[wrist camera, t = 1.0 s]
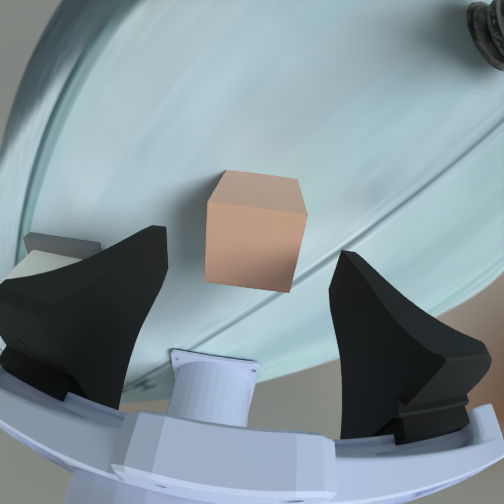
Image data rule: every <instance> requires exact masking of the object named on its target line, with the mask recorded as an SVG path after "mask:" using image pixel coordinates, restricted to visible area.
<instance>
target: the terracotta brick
mask: <svg viewBox="0 0 504 504" xmlns="http://www.w3.org/2000/svg"><path fill="white" fill-rule="evenodd" d="M307 216H308V215H307V211H306V207H305V204H304V200H303V197H302V193H301V189H300V186H299V182H298V179H292V178H286V177H279V176H272V175H265V174H257V173H249V172H241V171H232V170H226V171H225V173H224V174H223V176H222V178H221V180H220V181H219V183H218V185H217V186H216V188H215V190H214V191H213V193H212V195H211V197H210V198H209V200H208V202H207V224H206V251H205V282H210V283H217V284H224V285H232V286H239V287H246V288H254V289H262V290H270V291H278V292H286V293H290V289H291V285H292V280H293V276H294V272H295V268H296V264H297V260H298V256H299V251H300V247H301V243H302V238H303V234H304V229H305V225H306V220H307Z"/></svg>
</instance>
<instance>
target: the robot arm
mask: <svg viewBox="0 0 504 504" xmlns="http://www.w3.org/2000/svg"><path fill="white" fill-rule="evenodd" d="M167 270H168V255H167V235H166V227H164V226H155V225H152V226H149V227H147V228H145V229H143V230H141V231H139V232H137V233H135V234H134V235H132V236H130V237H128V238H126V239H124V240H123V241H121V242H119V243H117V244H115V245H113V246H111V247H109V248H107V249H105V250H103V251H101V252H99V253H97V254H95V255H93V256H91V257H88V258H86V259H83V260H81V261H79V262H76V263H73V264H70V265H67V266H64V267H61V268H58V269H55V270H52V271H48V272H44V273H40V274H35V275H31V276H25V277H18V278H12V279H5V280H4V281H3V282H2V283H1V284H0V336H1V337H2V339H3V341H4V342H5V344H6V345H7V346H6V348H5V349H4V351H2V350H1V349H0V428H1V429H3V430H4V431H6V432H7V433H8V434H10V435H11V436H12V437H14V438H15V439H17V440H18V441H20V442H21V443H22V444H24V445H25V446H27V447H28V448H30V449H32V450H33V451H35V452H36V453H38V454H40V455H41V456H43V457H45V458H46V459H48V460H50V461H52V462H53V463H55V464H57V465H58V466H60V467H62V468H64V469H66V470H68V471H70V472H72V473H73V474H72V477H71V480H70V483H69V487H68V490H67V493H66V497H65V500H64V504H401V503H404V502H408V501H411V500H414V499H417V498H420V497H423V496H426V495H428V494H431V493H434V492H437V491H439V490H442V489H445V488H447V487H450V486H452V485H454V484H457V483H459V482H461V481H463V480H465V479H467V478H469V477H471V476H473V475H475V474H477V473H478V472H480V471H482V470H484V469H486V468H487V467H489V466H491V465H492V464H494V463H496V462H497V461H499V460H500V459H502V458H503V457H504V441H503V437H502V434H501V431H500V428H499V424H498V422H497V418H496V416H495V413H494V410H493V407H492V405H491V404H486V405H483V406H480V407H476V408H474V409H471V410H470V411H468V412H466V409H465V405H467V404H468V402H469V400H468V397H467V393H468V392H469V391H470V390H471V389H472V388H473V387H474V386H475V385H476V384H477V383H478V382H479V381H480V380H481V379H482V378H483V377H484V375H485V374H486V373H487V371H488V370H489V368H490V365H491V361H492V359H491V356H490V354H489V352H488V350H487V348H486V346H485V345H484V343H483V342H481V341H479V340H477V339H474V338H472V337H470V336H467V335H465V334H463V333H461V332H459V331H457V330H455V329H453V328H451V327H449V326H447V325H445V324H444V323H442V322H440V321H438V320H437V319H435V318H434V317H432V316H431V315H429V314H428V313H426V312H425V311H423V310H422V309H420V308H419V307H418V306H416V305H415V304H414V303H412V302H411V301H410V300H408V299H407V298H406V297H405V296H403V295H402V294H401V293H400V292H399V291H398V290H396V289H395V288H394V287H393V286H392V285H391V284H390V283H389V282H387V281H386V280H385V279H384V278H383V277H382V276H381V275H380V274H379V273H378V272H377V271H376V270H375V269H374V268H373V267H372V266H371V265H370V264H368V263H367V262H366V261H365V260H364V259H363V258H362V257H361V256H360V255H358V254H357V253H356V252H351V251H345V250H341V253H340V256H339V259H338V262H337V266H336V269H335V272H334V275H333V278H332V281H331V284H330V286H329V302H330V311H331V316H332V320H333V325H334V330H335V334H336V339H337V344H338V349H339V354H340V361H341V375H342V423H341V435H340V440H331V439H329V438H327V437H325V436H323V435H321V434H319V433H314V432H304V431H297V430H277V429H262V428H251V427H247V420H248V409H249V407H250V403H251V399H252V395H253V391H254V387H255V383H256V379H257V375H258V371H259V363H257V362H254V361H246V360H238V359H230V358H223V357H217V356H210V355H204V354H198V353H192V352H187V351H182V350H176V349H174V350H172V351H171V354H170V355H171V361H172V366H173V372H174V378H175V384H174V387H173V391H172V395H171V398H170V402H169V405H168V409H167V413H166V414H165V413H157V412H150V411H140V412H135V413H131V414H128V413H125V412H122V411H118V409H119V404H120V398H121V393H122V389H123V384H124V380H125V376H126V372H127V368H128V365H129V361H130V358H131V354H132V351H133V348H134V345H135V342H136V339H137V336H138V334H139V331H140V329H141V327H142V325H143V323H144V321H145V319H146V317H147V315H148V313H149V311H150V309H151V307H152V305H153V303H154V301H155V299H156V297H157V295H158V293H159V291H160V289H161V287H162V284H163V282H164V279H165V276H166V273H167Z"/></svg>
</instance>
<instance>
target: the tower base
mask: <svg viewBox="0 0 504 504" xmlns="http://www.w3.org/2000/svg"><path fill="white" fill-rule="evenodd" d="M24 242H25V245H26V249H27V252H28V255H27V256H26V257H25V258H24V259H23V260H22V261H21V262H20V263H19V264H18V265H17V266H15V267H14V268H13V269H12V270H11V272H10V273H9V274H8V275H7V276H6V277H5V278H4V279H3V280H2V281H1V283H2V282H3V281H4V280H5V279H12V278H18V277H25V276H31V275H35V274H40V273H44V272H48V271H52V270H55V269H58V268H61V267H64V266H67V265H70V264H73V263H76V262H79V261H81V260H83V259H86V258H88V257H91V256H93V255H95V254H97V253H99V252H101V246H100V243H96V242H90V241H83V240H77V239H70V238H64V237H57V236H51V235H45V234H39V233H32V232H30V233H29V234H27V235H26V236H25V237H24Z"/></svg>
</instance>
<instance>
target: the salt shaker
mask: <svg viewBox="0 0 504 504" xmlns="http://www.w3.org/2000/svg"><path fill="white" fill-rule="evenodd" d="M467 20H468V26H469V30H470V33H471V36H472V38H473V40H474V42H475V44H476V46H477V48H478V49H479V51H480V52H481V54H482V55H483V57H484V58H485V59H486V60H487V61H488V62H489V63H490V64H491V65H492V66H494V67H495V68H497V69H499V70H501V71H504V0H493V1H492V3H491V4H490V5H489V4H487V3H484V2H474V3H473V4H472V5H470V7H469V9H468V13H467Z"/></svg>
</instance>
